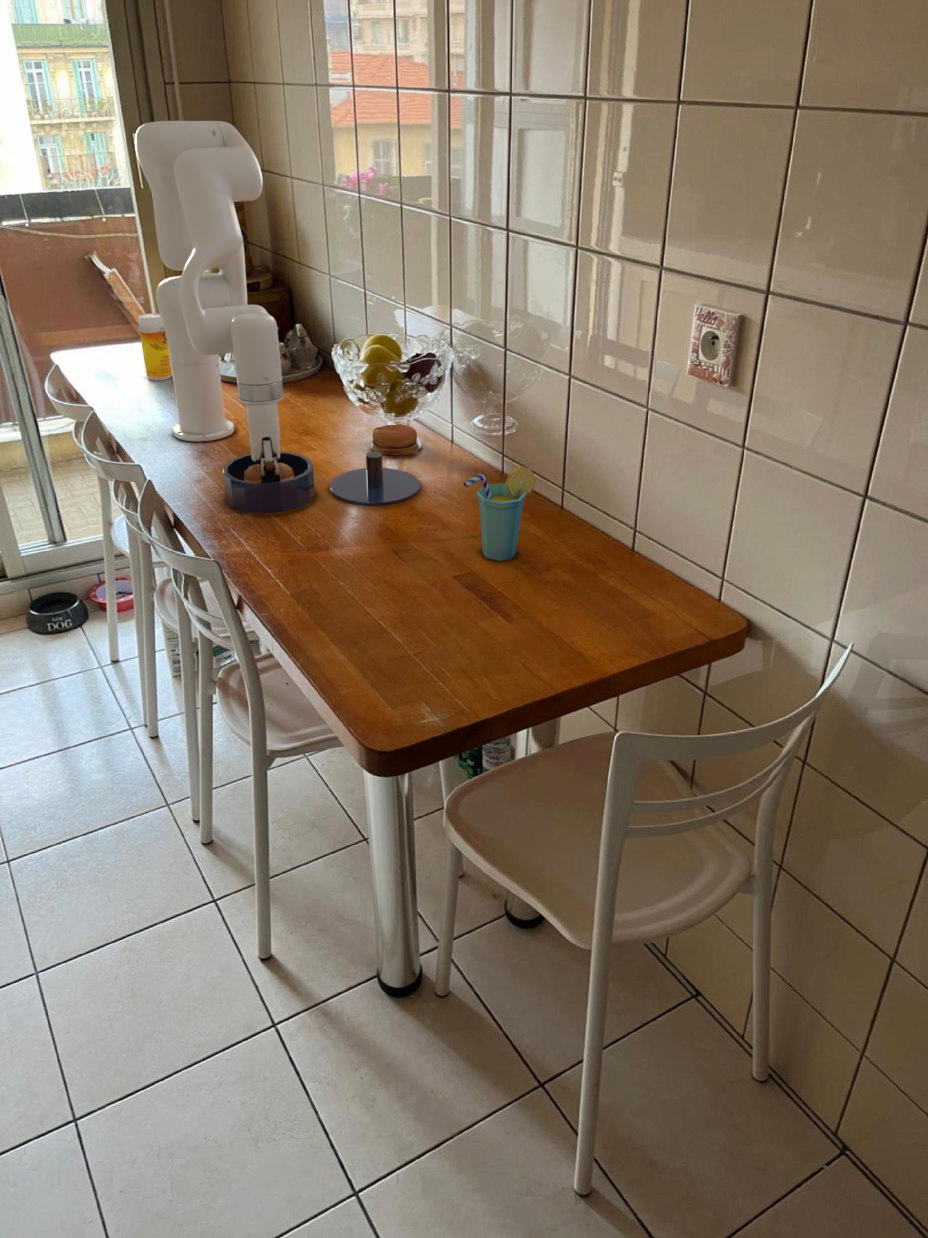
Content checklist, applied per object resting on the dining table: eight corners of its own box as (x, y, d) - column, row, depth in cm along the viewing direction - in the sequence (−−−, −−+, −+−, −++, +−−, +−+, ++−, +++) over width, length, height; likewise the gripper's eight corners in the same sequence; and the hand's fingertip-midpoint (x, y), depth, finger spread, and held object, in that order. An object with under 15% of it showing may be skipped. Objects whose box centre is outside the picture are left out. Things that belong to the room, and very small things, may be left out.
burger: (423, 455, 186) (423, 433, 184) (379, 460, 183) (378, 438, 181) (410, 439, 194) (409, 418, 192) (367, 444, 191) (366, 422, 189)
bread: (246, 503, 163) (242, 472, 160) (245, 491, 167) (242, 460, 164) (296, 500, 165) (294, 468, 162) (294, 487, 169) (291, 457, 166)
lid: (325, 476, 176) (323, 441, 172) (411, 470, 179) (410, 436, 175) (335, 512, 162) (333, 474, 158) (428, 504, 165) (427, 467, 162)
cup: (480, 577, 142) (483, 486, 134) (446, 559, 147) (447, 471, 139) (542, 550, 150) (547, 463, 142) (508, 534, 155) (512, 449, 147)
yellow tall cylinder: (168, 381, 227) (159, 318, 219) (143, 380, 227) (133, 318, 219) (175, 374, 232) (166, 312, 224) (151, 373, 232) (141, 312, 224)
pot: (226, 484, 171) (222, 454, 168) (310, 478, 175) (308, 448, 171) (227, 519, 158) (223, 486, 155) (318, 512, 162) (316, 480, 158)
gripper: (237, 378, 162) (248, 473, 171) (239, 406, 148) (251, 508, 156) (280, 376, 164) (289, 470, 173) (286, 403, 149) (296, 504, 158)
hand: (271, 487), depth 164 cm, fingers open, 7 cm apart
